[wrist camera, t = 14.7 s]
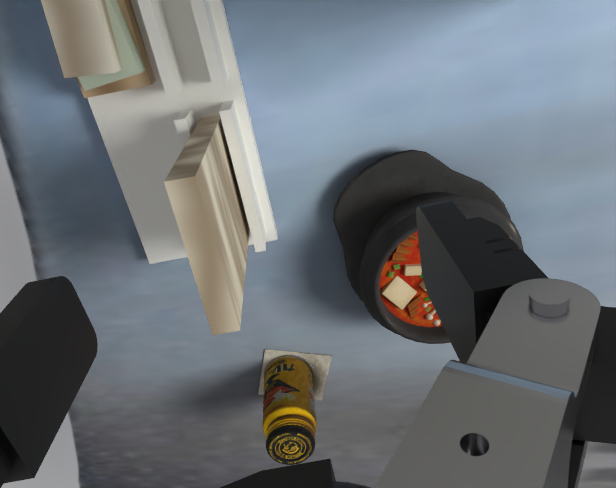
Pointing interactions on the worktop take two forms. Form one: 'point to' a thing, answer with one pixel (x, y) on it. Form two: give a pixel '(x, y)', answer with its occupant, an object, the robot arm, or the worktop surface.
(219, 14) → the rack
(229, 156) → the birch sheet
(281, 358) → the condiment
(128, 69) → the offcut sage
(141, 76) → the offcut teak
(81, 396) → the worktop surface
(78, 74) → the offcut ash
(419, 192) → the casserole
